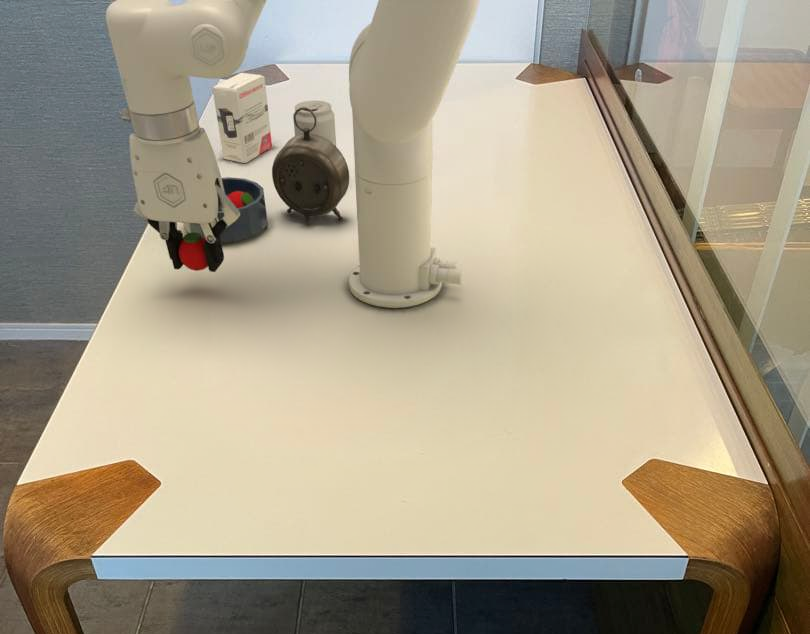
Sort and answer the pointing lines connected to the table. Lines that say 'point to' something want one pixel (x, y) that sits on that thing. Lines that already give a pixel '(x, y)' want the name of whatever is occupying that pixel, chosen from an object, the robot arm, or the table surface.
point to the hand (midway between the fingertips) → (198, 264)
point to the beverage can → (323, 116)
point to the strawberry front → (240, 198)
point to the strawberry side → (193, 252)
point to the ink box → (242, 117)
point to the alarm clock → (310, 174)
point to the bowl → (250, 215)
